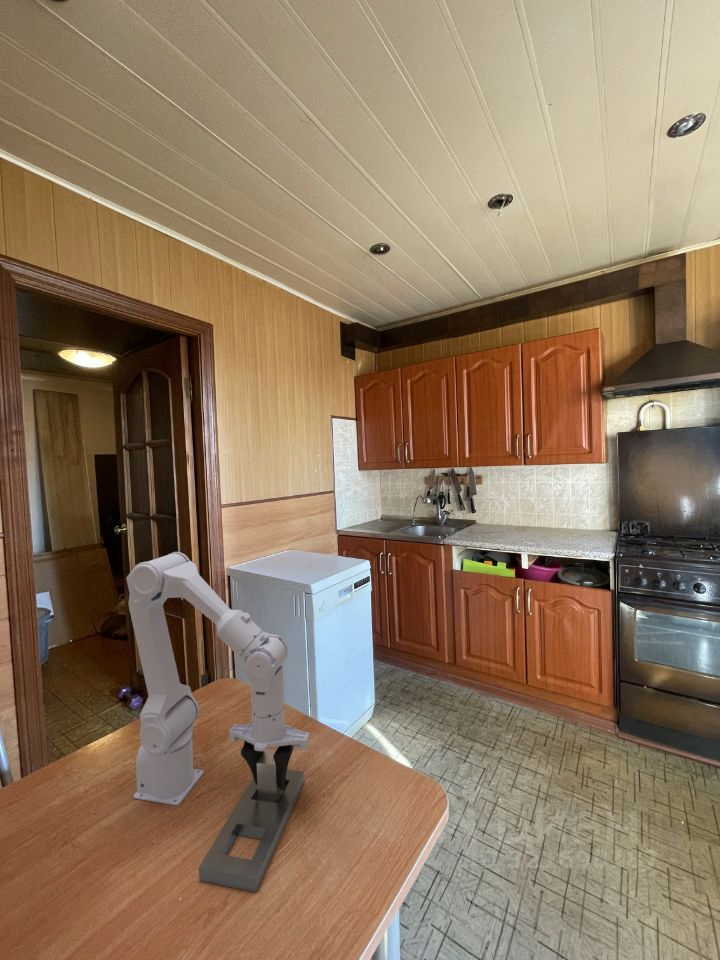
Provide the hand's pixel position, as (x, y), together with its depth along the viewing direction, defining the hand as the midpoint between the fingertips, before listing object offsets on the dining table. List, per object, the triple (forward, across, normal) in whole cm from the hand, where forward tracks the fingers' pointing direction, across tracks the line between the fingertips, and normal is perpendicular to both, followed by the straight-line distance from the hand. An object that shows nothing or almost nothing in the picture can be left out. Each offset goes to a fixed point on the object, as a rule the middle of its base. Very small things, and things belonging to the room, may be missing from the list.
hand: (270, 781), depth 71 cm
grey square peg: (+3, 0, 0) cm, 3 cm away
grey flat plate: (+3, 0, -5) cm, 6 cm away
